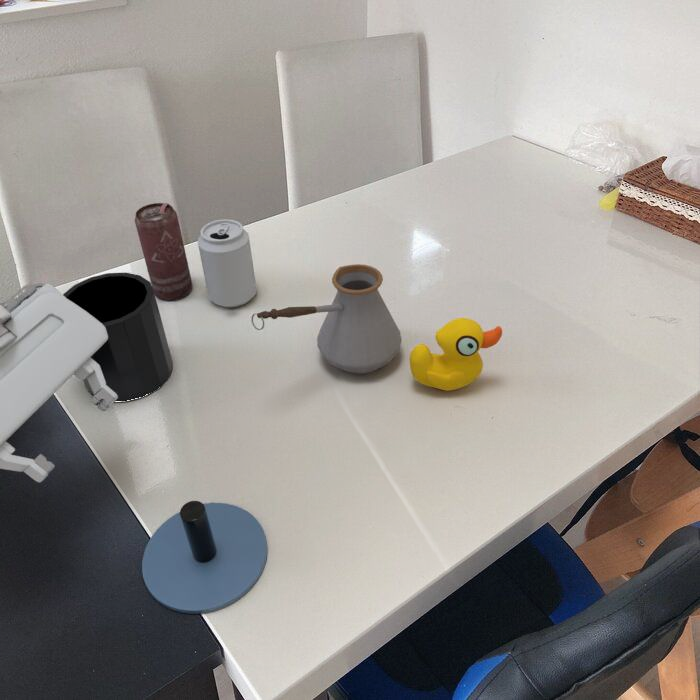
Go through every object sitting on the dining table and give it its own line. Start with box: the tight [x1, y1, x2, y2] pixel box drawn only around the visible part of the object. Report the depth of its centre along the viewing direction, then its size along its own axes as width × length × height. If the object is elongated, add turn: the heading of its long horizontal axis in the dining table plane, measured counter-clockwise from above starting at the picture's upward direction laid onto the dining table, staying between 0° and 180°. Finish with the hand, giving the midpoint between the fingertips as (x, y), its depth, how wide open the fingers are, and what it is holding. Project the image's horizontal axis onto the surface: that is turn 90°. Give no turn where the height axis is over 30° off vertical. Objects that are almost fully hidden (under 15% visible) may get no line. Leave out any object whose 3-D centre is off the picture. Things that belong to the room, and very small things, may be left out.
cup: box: [62, 272, 174, 401], centre depth 89 cm, size 12×12×12 cm
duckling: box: [409, 317, 503, 391], centre depth 86 cm, size 11×5×10 cm, turn 93°
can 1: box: [134, 202, 193, 302], centre depth 103 cm, size 6×6×14 cm
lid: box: [141, 500, 268, 615], centre depth 67 cm, size 13×13×8 cm
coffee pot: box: [251, 263, 403, 375], centre depth 87 cm, size 21×12×15 cm, turn 131°
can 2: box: [197, 218, 258, 309], centre depth 102 cm, size 8×8×12 cm
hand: (81, 437), depth 64 cm, fingers open, 8 cm apart
